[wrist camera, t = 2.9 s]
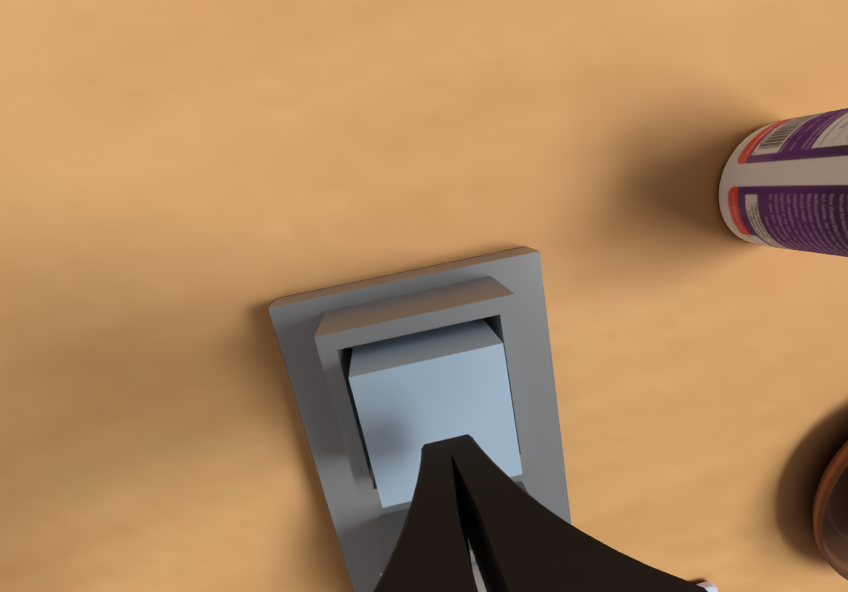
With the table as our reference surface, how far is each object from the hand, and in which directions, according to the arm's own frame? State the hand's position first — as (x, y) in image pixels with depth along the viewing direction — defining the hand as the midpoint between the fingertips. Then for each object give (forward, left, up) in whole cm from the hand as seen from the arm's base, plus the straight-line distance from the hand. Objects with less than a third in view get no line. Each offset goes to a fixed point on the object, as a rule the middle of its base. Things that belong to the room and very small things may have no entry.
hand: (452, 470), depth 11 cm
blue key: (0, 0, -5) cm, 5 cm away
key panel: (-5, 0, -8) cm, 9 cm away
